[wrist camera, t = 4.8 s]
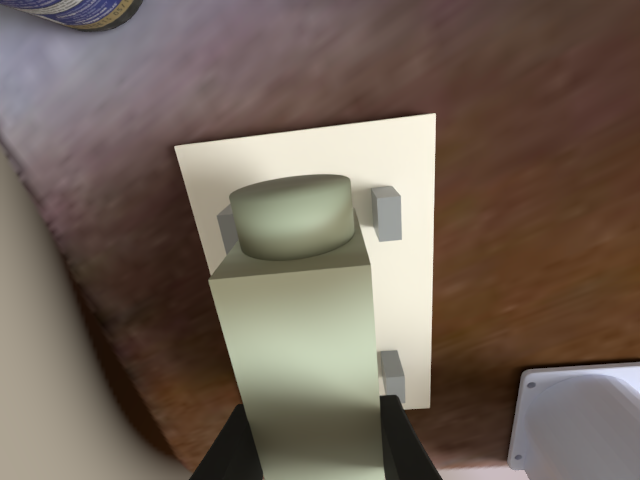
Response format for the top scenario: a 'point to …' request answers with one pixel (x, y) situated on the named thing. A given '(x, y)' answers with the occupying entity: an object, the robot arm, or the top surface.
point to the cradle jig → (372, 211)
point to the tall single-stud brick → (303, 329)
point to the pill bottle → (80, 12)
